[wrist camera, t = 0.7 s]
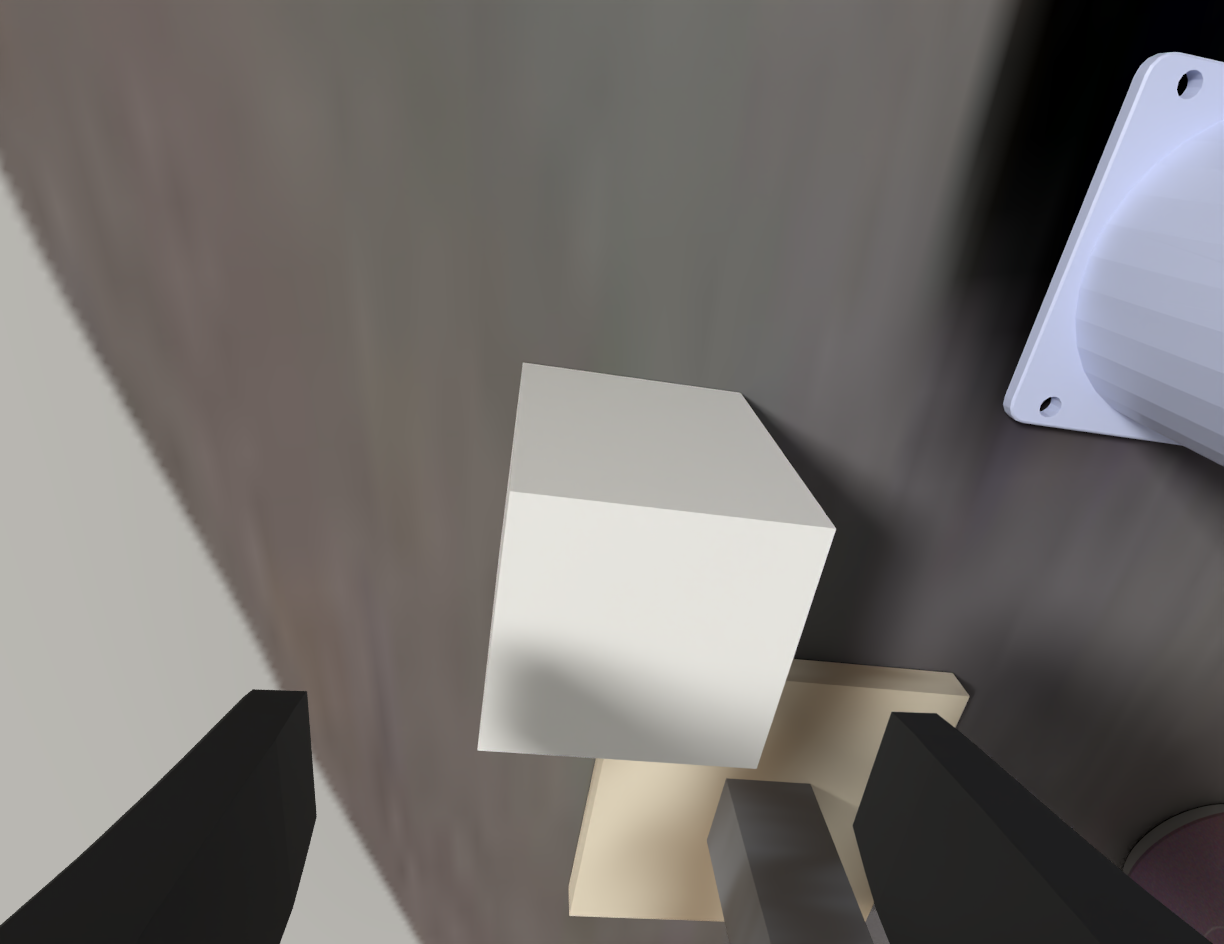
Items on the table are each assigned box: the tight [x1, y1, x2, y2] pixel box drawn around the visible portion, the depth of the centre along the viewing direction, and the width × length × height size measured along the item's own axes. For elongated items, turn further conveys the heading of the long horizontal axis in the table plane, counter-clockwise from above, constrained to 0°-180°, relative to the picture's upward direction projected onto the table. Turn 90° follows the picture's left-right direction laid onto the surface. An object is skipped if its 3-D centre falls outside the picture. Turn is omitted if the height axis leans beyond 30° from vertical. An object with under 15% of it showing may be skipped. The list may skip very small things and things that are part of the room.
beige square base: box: [569, 659, 970, 944], centre depth 21 cm, size 10×10×6 cm
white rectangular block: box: [477, 363, 836, 769], centre depth 16 cm, size 5×5×7 cm
